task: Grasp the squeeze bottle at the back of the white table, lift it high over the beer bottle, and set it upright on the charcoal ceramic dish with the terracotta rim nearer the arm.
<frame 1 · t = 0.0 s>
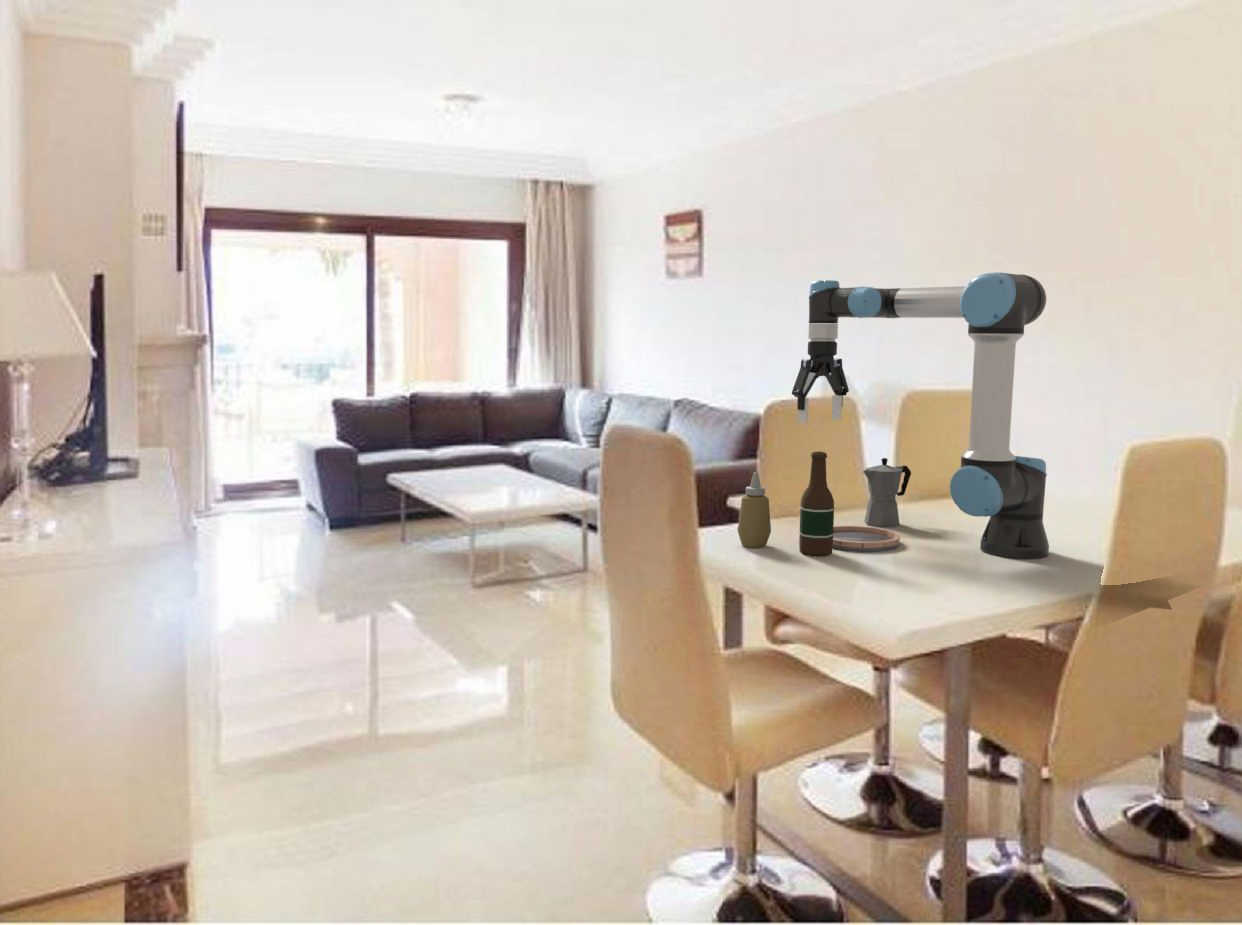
hand: (819, 421, 257), 28 cm above the table, fingers open, 13 cm apart
squeeze bottle: (753, 546, 236), on the table
dish: (856, 542, 240), on the table
beer bottle: (815, 554, 228), on the table
coffeepot: (885, 524, 263), on the table
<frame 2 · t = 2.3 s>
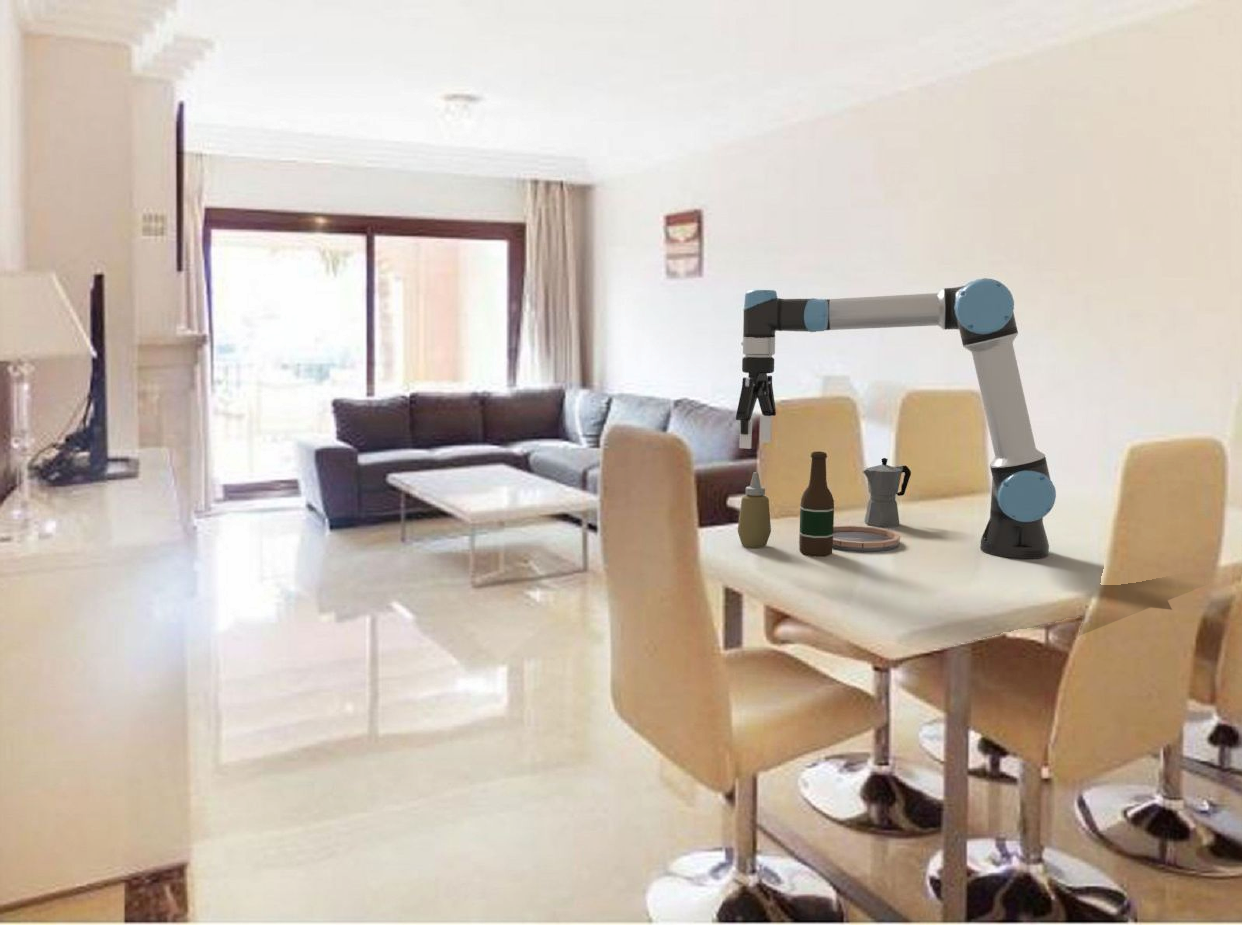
hand: (755, 445, 232), 25 cm above the table, fingers open, 13 cm apart
nothing on the table moved.
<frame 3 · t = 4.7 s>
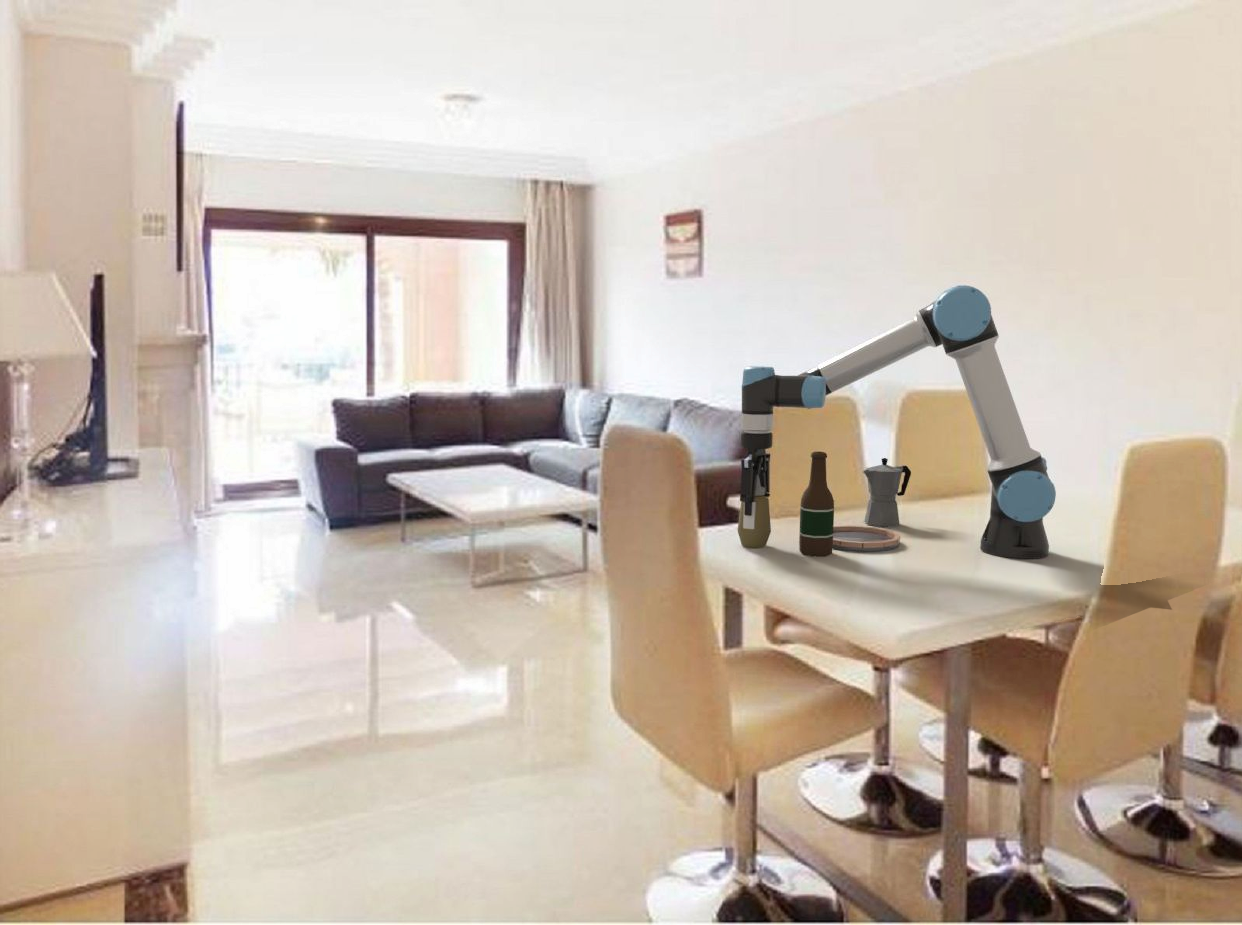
hand: (754, 525, 235), 5 cm above the table, fingers closed on squeeze bottle, 6 cm apart
squeeze bottle: (753, 546, 236), on the table, touching gripper
everything else where it was.
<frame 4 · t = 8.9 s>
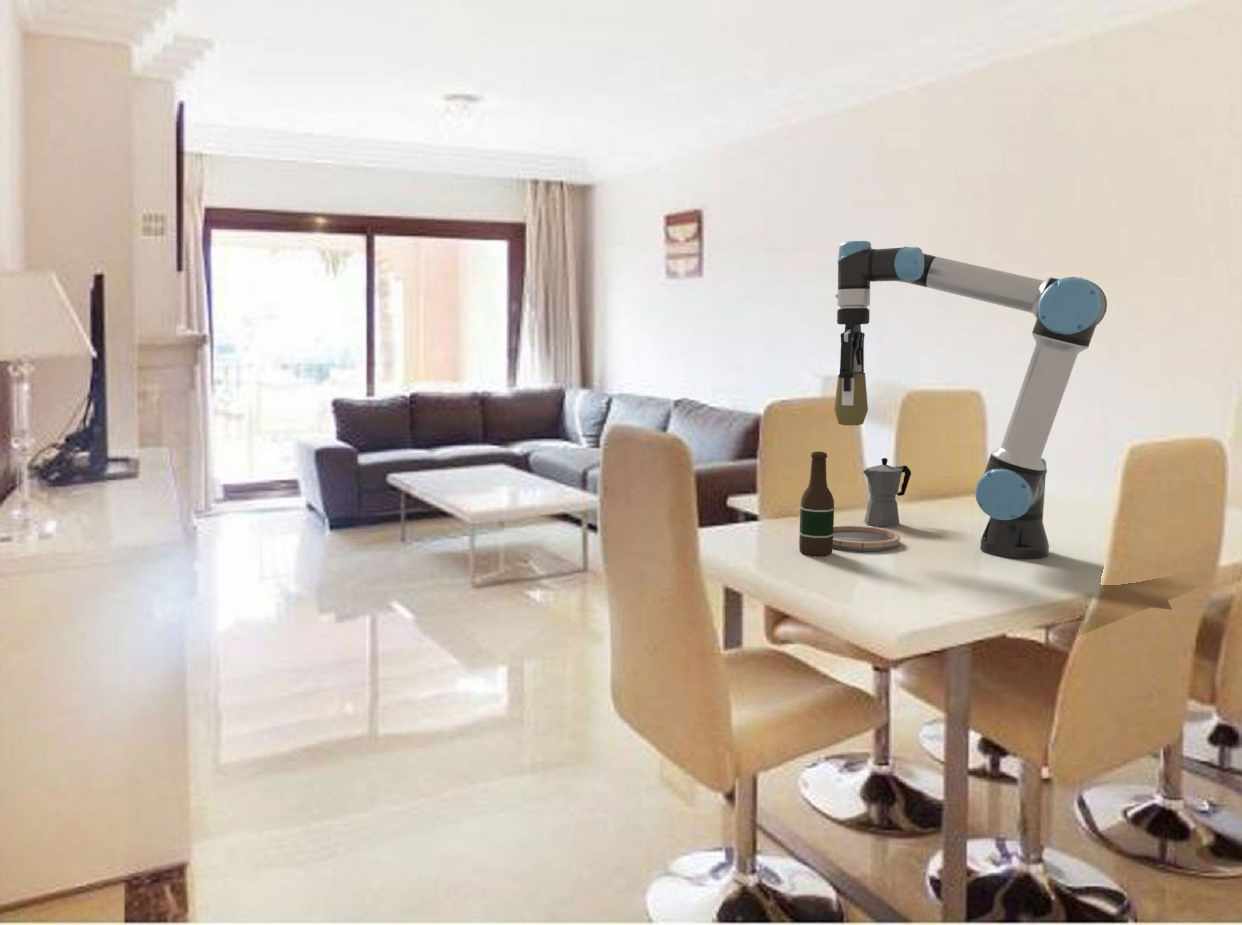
hand: (851, 404, 234), 34 cm above the table, fingers closed on squeeze bottle, 6 cm apart
squeeze bottle: (850, 425, 235), point 29 cm above the table, touching gripper
everything else where it was.
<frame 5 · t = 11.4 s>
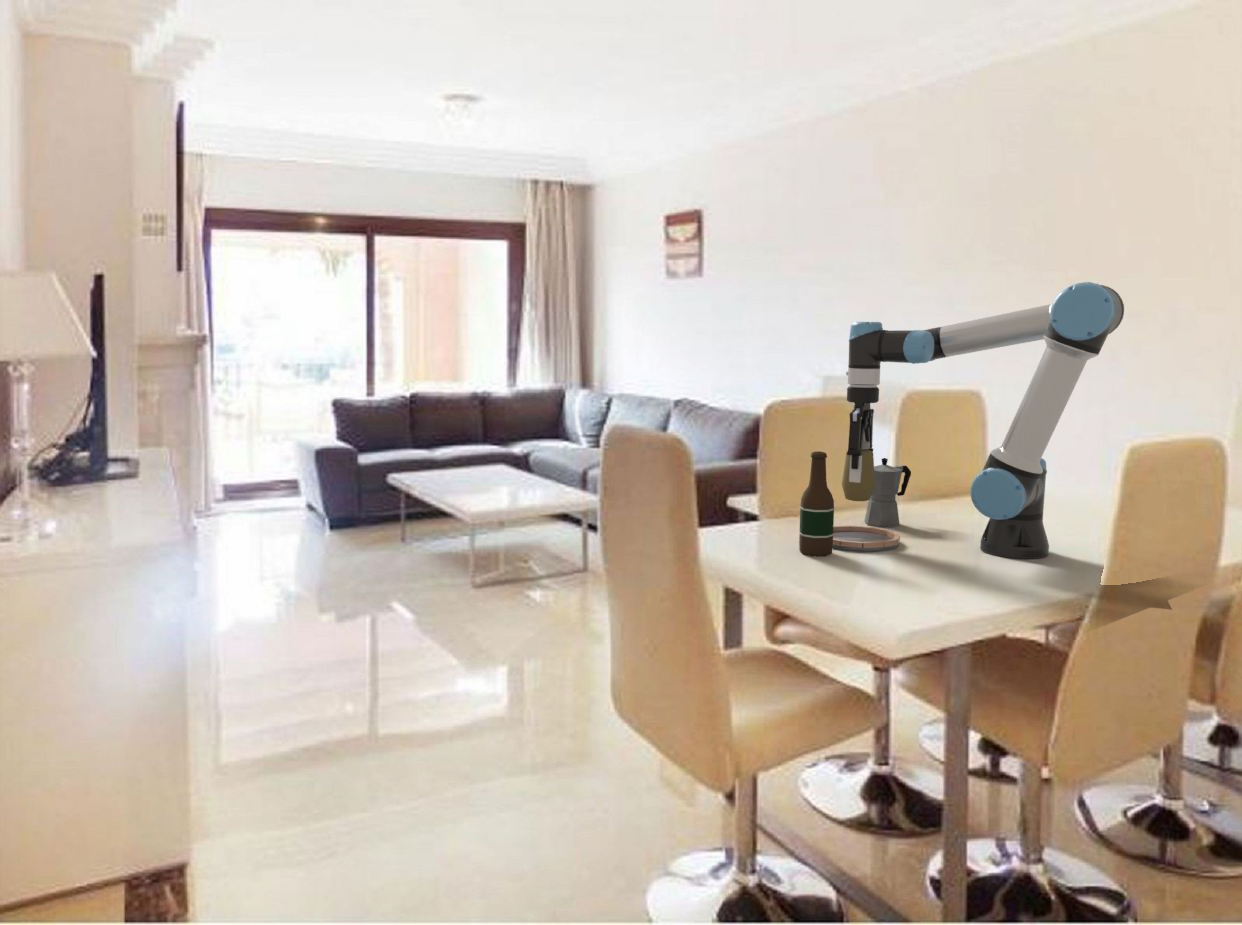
hand: (858, 479, 238), 16 cm above the table, fingers closed on squeeze bottle, 6 cm apart
squeeze bottle: (857, 500, 238), point 11 cm above the table, touching gripper
everything else where it was.
when the fingers open (8 cm above the table, at t = 13.2 s): squeeze bottle drops 2 cm, resting on dish.
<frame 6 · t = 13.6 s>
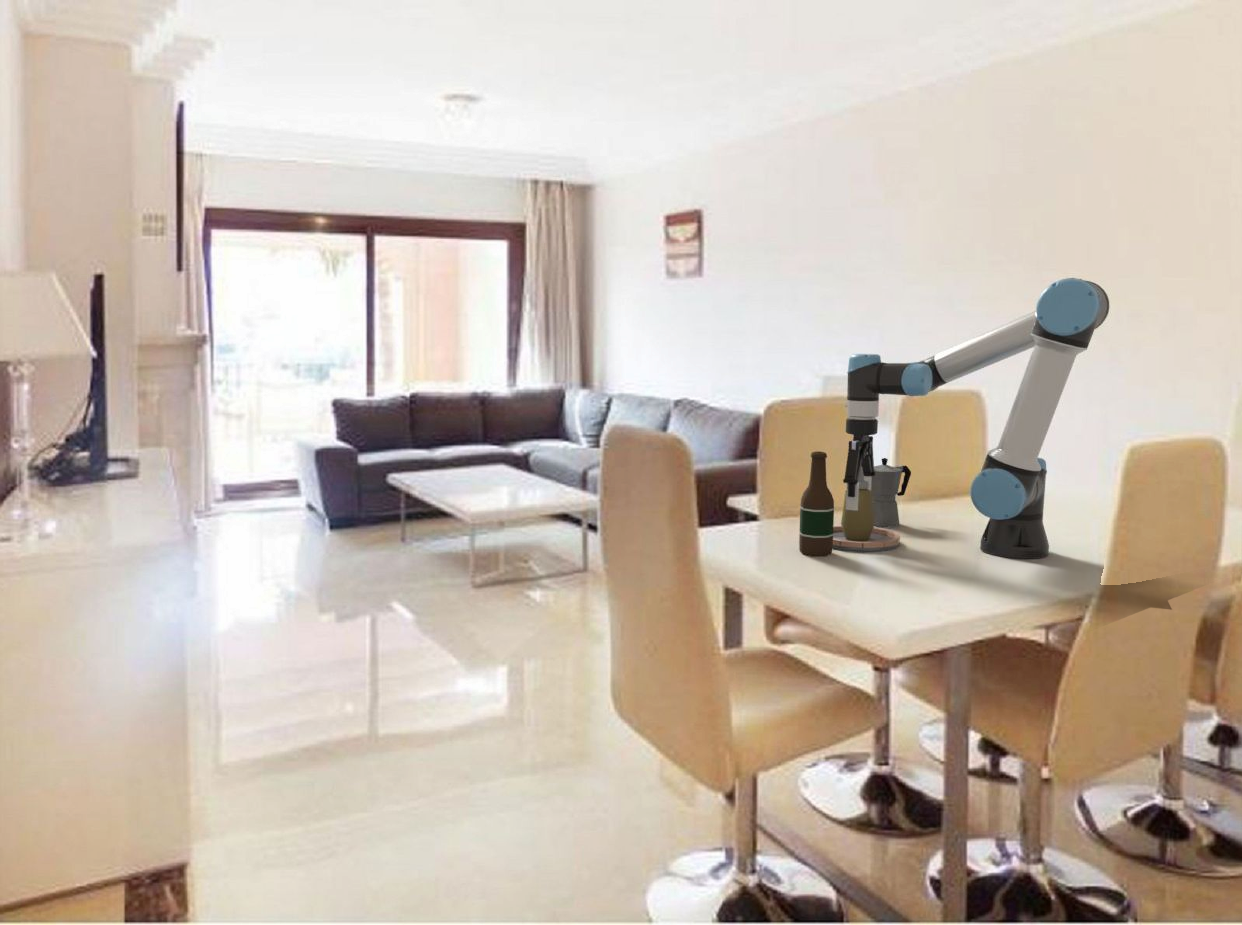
hand: (858, 505, 239), 9 cm above the table, fingers open, 11 cm apart
squeeze bottle: (857, 539, 240), point 1 cm above the table, touching dish
everything else where it was.
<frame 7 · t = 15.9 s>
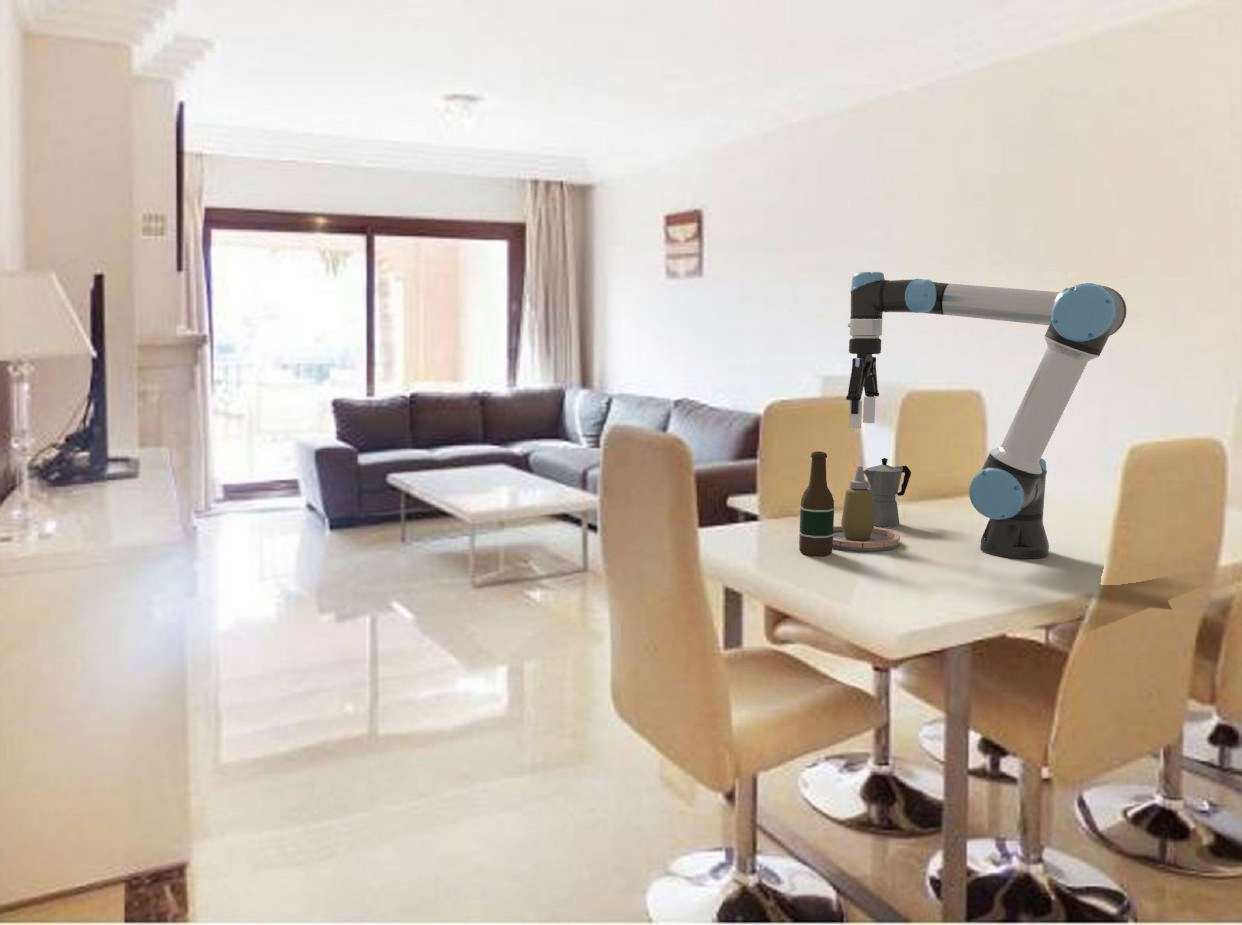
hand: (862, 425, 236), 29 cm above the table, fingers open, 13 cm apart
nothing on the table moved.
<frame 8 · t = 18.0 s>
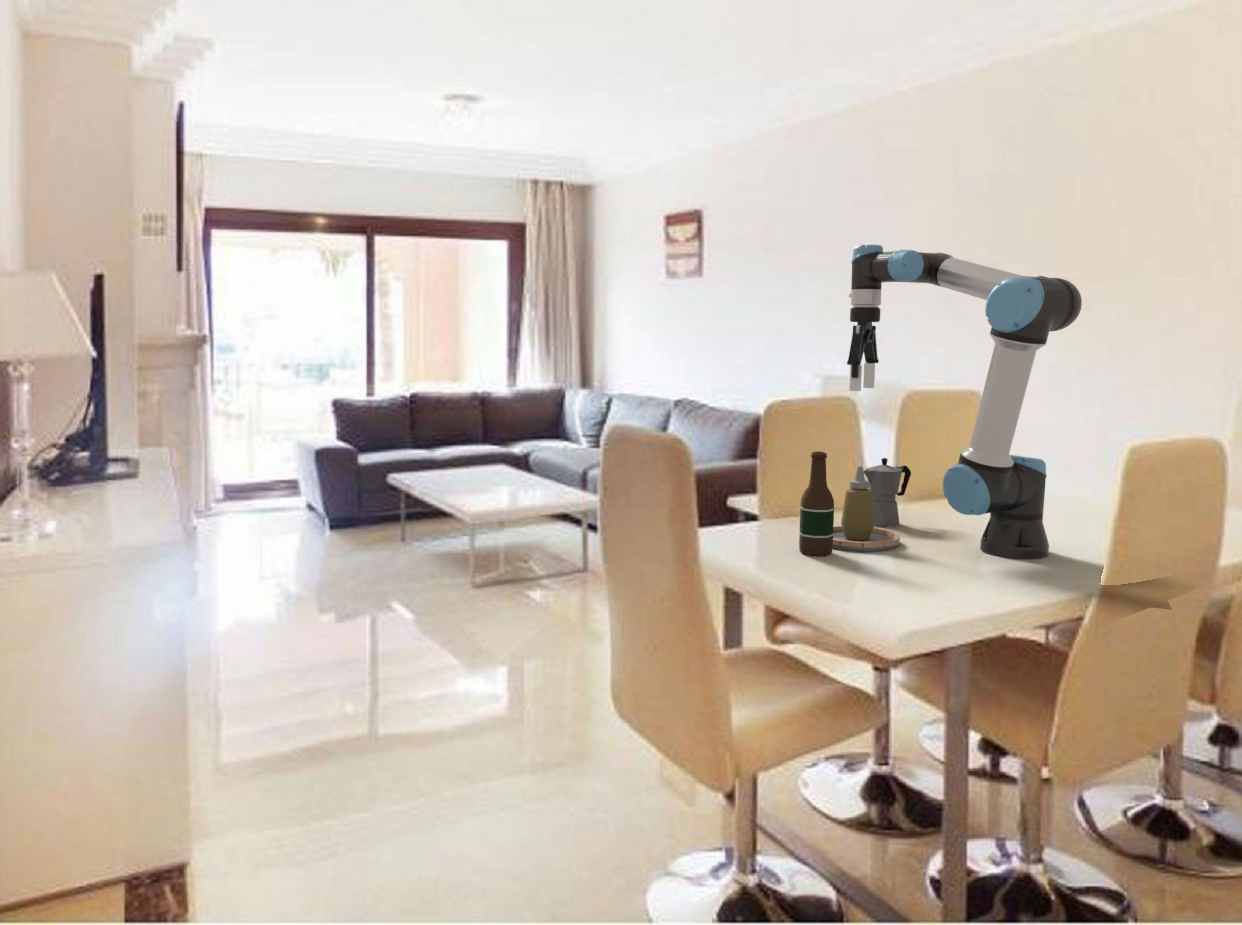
hand: (862, 389, 252), 37 cm above the table, fingers open, 13 cm apart
nothing on the table moved.
at the end: squeeze bottle inside the target area on the dish (0.0 cm from its centre), point 0.8 cm above the dish's base; squeeze bottle tilted 0°; the gripper is holding nothing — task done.
